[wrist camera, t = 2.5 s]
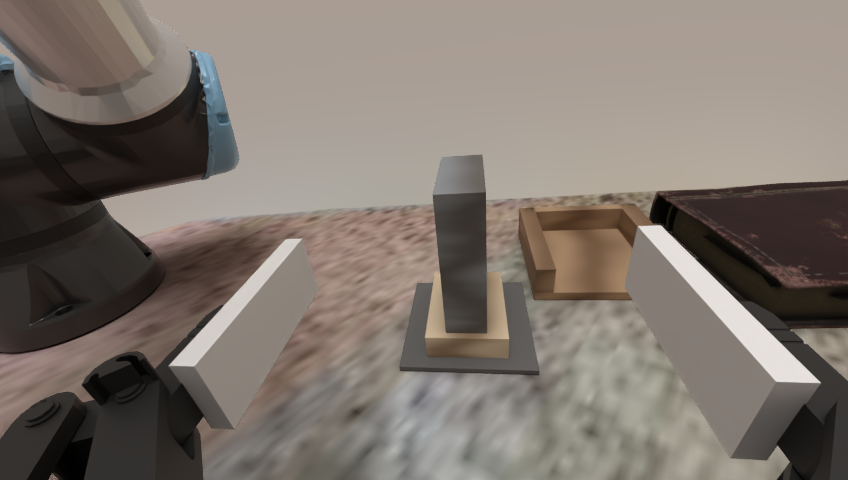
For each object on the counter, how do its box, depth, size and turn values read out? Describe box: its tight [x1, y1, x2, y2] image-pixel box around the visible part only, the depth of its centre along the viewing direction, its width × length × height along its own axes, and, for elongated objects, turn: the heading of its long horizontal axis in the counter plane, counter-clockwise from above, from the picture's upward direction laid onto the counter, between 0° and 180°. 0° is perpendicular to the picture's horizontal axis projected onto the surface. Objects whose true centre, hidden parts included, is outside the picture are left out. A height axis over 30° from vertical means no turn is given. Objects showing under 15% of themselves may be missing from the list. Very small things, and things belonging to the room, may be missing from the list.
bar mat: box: [400, 282, 539, 375], centre depth 29 cm, size 10×10×1 cm
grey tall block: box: [425, 155, 509, 359], centre depth 26 cm, size 6×8×13 cm
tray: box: [519, 204, 655, 300], centre depth 34 cm, size 12×12×3 cm
